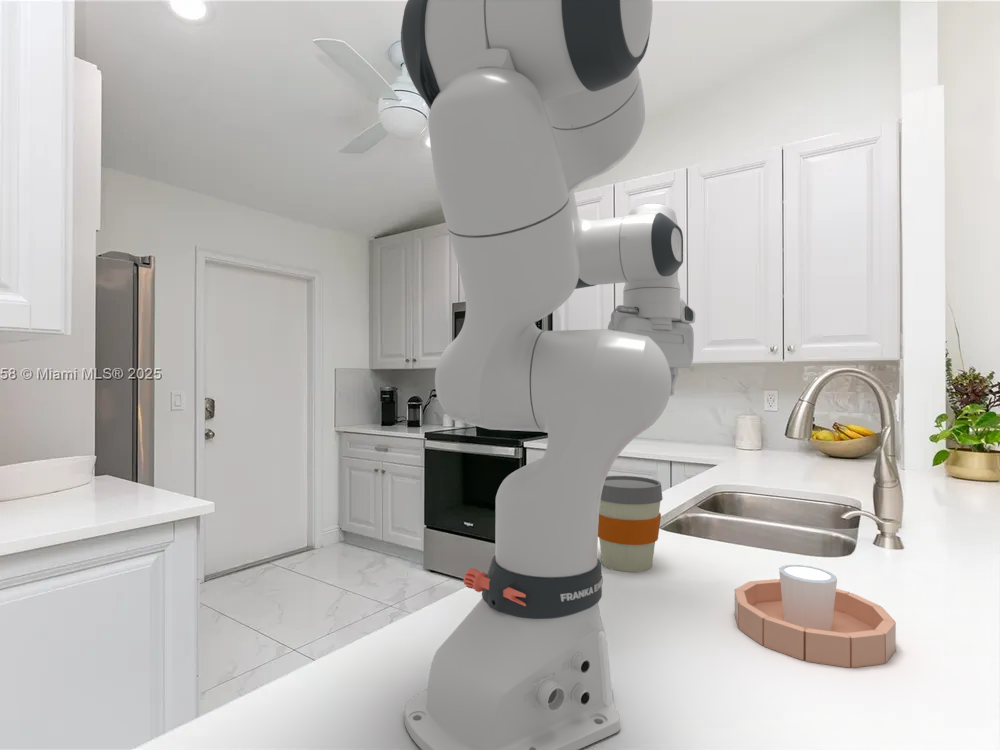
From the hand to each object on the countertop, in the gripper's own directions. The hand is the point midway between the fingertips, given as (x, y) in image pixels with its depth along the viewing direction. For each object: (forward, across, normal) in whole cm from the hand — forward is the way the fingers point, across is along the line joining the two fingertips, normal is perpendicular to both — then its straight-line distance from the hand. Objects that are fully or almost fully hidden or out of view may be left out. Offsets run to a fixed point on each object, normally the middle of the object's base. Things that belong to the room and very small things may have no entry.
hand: (651, 396), depth 87 cm
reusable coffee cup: (+31, +8, +10) cm, 34 cm away
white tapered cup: (+30, +4, -22) cm, 38 cm away
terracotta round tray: (+31, +4, -22) cm, 38 cm away
